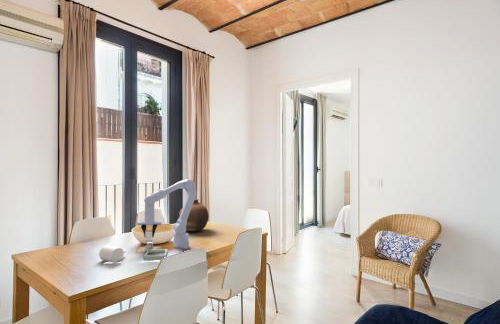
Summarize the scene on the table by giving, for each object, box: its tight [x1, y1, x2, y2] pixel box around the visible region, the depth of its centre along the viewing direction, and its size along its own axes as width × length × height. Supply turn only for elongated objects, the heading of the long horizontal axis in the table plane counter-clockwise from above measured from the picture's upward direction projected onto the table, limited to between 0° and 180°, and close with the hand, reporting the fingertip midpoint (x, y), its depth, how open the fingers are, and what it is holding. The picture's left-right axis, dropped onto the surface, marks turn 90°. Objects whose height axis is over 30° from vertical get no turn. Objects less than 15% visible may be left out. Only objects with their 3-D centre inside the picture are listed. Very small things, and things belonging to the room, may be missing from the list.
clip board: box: [135, 241, 163, 253], centre depth 182 cm, size 14×10×4 cm
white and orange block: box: [144, 228, 154, 243], centre depth 182 cm, size 4×4×7 cm
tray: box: [143, 248, 169, 260], centre depth 171 cm, size 12×12×2 cm
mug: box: [98, 244, 126, 264], centre depth 164 cm, size 12×10×8 cm
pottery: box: [178, 198, 210, 232], centre depth 234 cm, size 23×23×25 cm
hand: (149, 236), depth 182 cm, fingers closed on white and orange block, 4 cm apart
